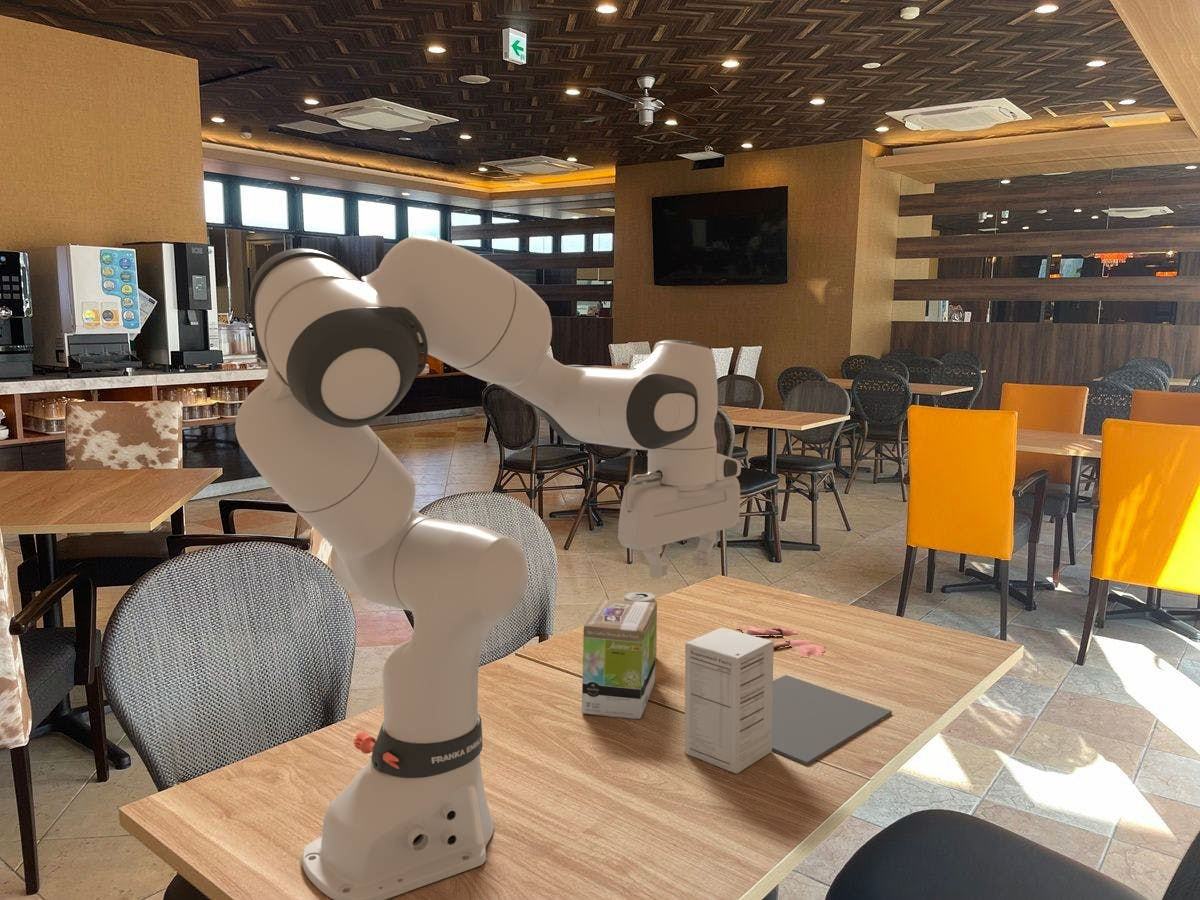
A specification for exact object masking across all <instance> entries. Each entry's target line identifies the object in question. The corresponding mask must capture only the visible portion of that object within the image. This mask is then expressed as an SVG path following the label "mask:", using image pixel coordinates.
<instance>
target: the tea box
mask: <svg viewBox="0 0 1200 900" xmlns="http://www.w3.org/2000/svg"><path fill="white" fill-rule="evenodd" d="M623 600H624V599H623ZM623 600H620V599H607V598H602V599H601V600H600V601H599V603H598V604H597V606H596V607H595V609H594V611H593V612H592V613H591V615H590V616H589V617H588V619H587V620H586V622H585V623H584V625H583V637H582V639H583V641H582V642H583V643H582V645H583V648H582V678H581V679H582V685H581V687H582V688H581V689H582V690H581V691H582V693H581V714H585V715H591V716H592V715H594V716H603V717H612V718H621V719H622V718H623V719H632V720H640V719H641V718H642V716H643V714H644V711H645V708H646V706H647V704H648V701H649V698H650V696H651V693H652V690H653V688H654V684H655V681H656V657H657V654H656V621H657V622H658V620H657V619H658V603H657V604H656V603H650V602H637V601H623Z"/></svg>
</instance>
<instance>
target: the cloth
mask: <svg viewBox="0 0 1200 900" xmlns="http://www.w3.org/2000/svg"><path fill="white" fill-rule="evenodd" d="M738 627H739V628H740V629H741V630H745V629H746V628H744V627H743V626H738ZM783 628H784V627H781V628H771V629H769V630H767V629H761V628H756V627H753V626H748V629H746V630H747V634H748V635H769V636H768V637H772V636H773V635H782V636H791V635H798V633H797V632H798V631H797V632H796V630H793V629H791V630H786V629H787V628H784V629H783ZM741 630H740V631H741ZM775 630H776V631H775ZM792 630H793V631H792ZM771 635H772V636H771ZM773 642H774V649H775V650H777V649H776V648H780V647H785V646H789V645H791V647H796V646H800V645H803V646H800V647H799V648H798V649H797V651H796V652H798V653H799V654H801V656H809V655H816V656H821V655H822V653H823V652H824V653H825V651H824V647H822V646H817V645H805V644H809V643H810V642H811V641H809V640H789V641H788V640H787V642H786V641H773ZM791 647H790V648H791ZM822 656H823V655H822ZM809 657H810V656H809Z"/></svg>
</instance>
